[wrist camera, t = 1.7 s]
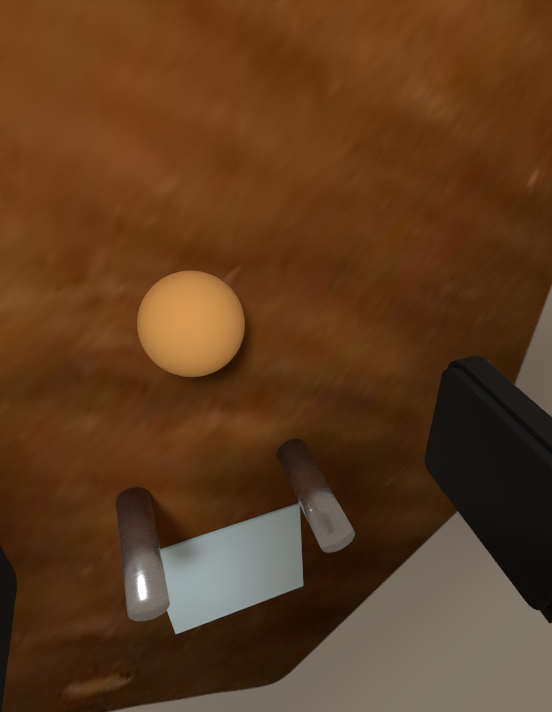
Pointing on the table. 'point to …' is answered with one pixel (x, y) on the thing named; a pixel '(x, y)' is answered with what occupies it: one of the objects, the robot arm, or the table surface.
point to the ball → (191, 323)
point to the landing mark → (233, 567)
